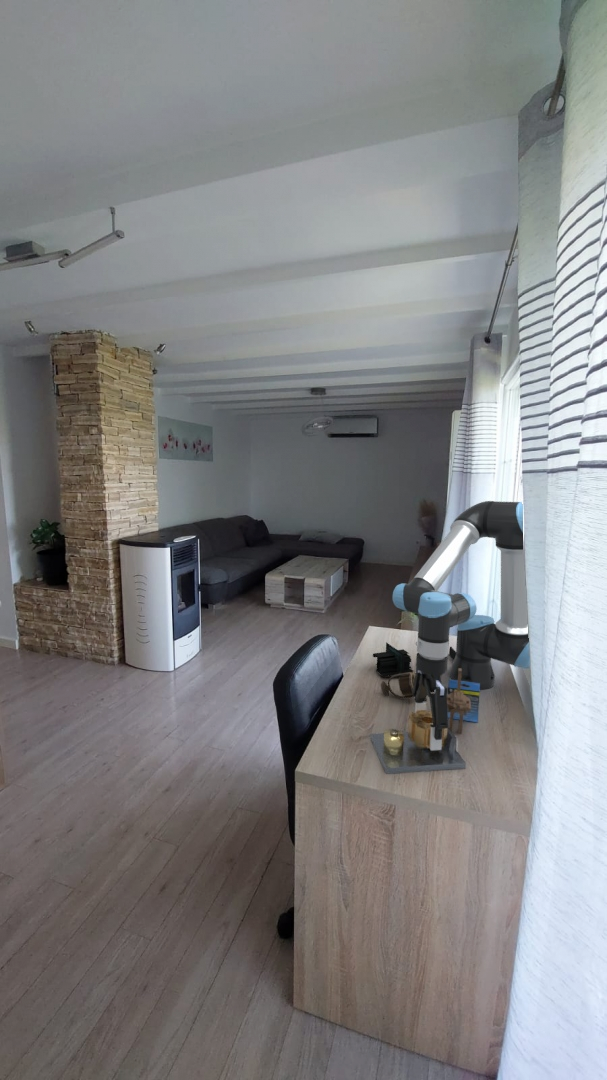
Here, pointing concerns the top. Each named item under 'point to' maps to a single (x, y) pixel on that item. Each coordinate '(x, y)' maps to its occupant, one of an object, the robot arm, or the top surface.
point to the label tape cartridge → (471, 693)
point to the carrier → (414, 753)
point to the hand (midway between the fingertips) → (427, 737)
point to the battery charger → (452, 653)
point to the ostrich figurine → (458, 704)
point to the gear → (422, 729)
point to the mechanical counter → (401, 685)
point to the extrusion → (392, 661)
